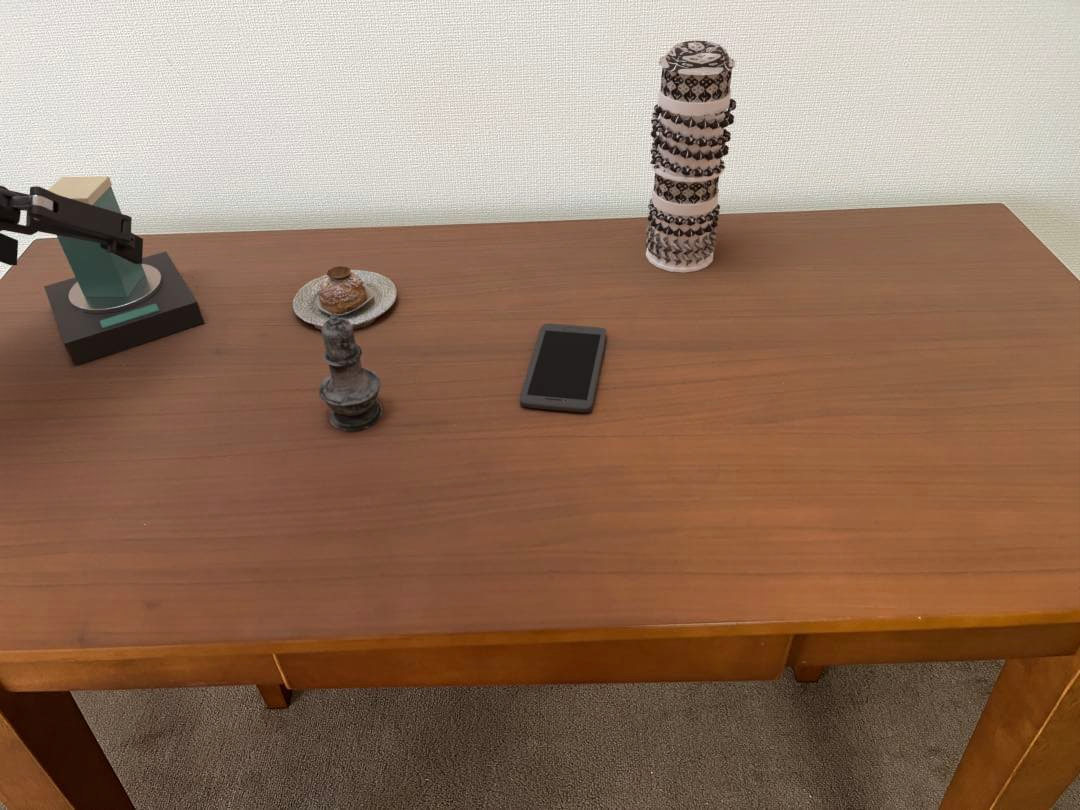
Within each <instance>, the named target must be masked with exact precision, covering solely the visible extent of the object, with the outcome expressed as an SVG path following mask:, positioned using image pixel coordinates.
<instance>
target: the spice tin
mask: <svg viewBox="0 0 1080 810" xmlns="http://www.w3.org/2000/svg"><path fill="white" fill-rule="evenodd" d="M112 183H113V182H112V181H111V179H110V176H108V175H107V176H105V175H104V176H61V177H60V178H59V179H58V180H57V181H56V182H55V183H54V184H53V185H51V186H50V187H48V189H47V190H48V191H51V192H53V193H55V194H57V195H60V196H63V197H67V198H70V199H73V200H77V201H80V202H83V203H87V204H90V205H93V206H97V207H100V208H104V209H107V210H110V211H114V212H117V213H120V214H123V212H122V210H121V208H120V205H119V202H118V200H117V198H116V195H115V193H114V189H113V187H112V185H113V184H112ZM56 238H57V240H58V242H59V244H60V246H61V248H62V250H63V253H64V255H65V257H66V259H67V262H68V264H69V266H70V268H71V271H72V272H73V275H74V278H75V277H76V279H77V281H78V284H79V286H80V288H81V290H82V292H83V295H84V297H128V296H129V295H130V293H131V292H132V291H133V289H134V288H135V287H136V285H137V284H138V283H139V281H140V280H141V279H142V278H143V276H144V275H145V272H144V269H143V267H142V264H134V263H132V262H130V261H128V260H126V259H124V258H122V257H120V256H118V255H115V254H113V253H109V252H107V250H105V249H103V248H101V247H100V243H96V242H90V241H85V240H80V239H75V238H70V237H64V236H59V235H56Z"/></svg>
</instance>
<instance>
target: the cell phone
mask: <svg viewBox="0 0 1080 810" xmlns="http://www.w3.org/2000/svg"><path fill="white" fill-rule="evenodd" d="M606 342H607V329H606V328H604V327H599V326H589V325H575V324H563V323H562V324H561V323H544V324H541V326H540V328H539V332H538V336H537V338H536V341H535V344H534V348H533V351H532V354H531V357H530V361H529V365H528V368H527V371H526V375H525V378H524V381H523V384H522V386H521V387H522V388H521V391H520V395H519V405H520V406H522V407H524V408H529V409H539V410H550V411H552V410H553V411H560V412H572V413H582V414H583V413H590V412H591V411H592V410H593V406H594V402H595V399H596V393H597V389H598V383H599V377H600V373H601V368H602V363H603V358H604V357H603V356H604V352H605V347H606Z"/></svg>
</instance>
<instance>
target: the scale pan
mask: <svg viewBox="0 0 1080 810" xmlns="http://www.w3.org/2000/svg"><path fill="white" fill-rule="evenodd" d="M142 267H143V269H144V272H145V275H144V276H143V278H142V279H141V280H140V281H139V283H138V284H137V285H136V287H135V288H134V289H133V291H132V292H131V293H130V295H129V296H128V297H84V295H83V292H82V290H81V288H80V286H79V284H78V282H77V283H75V284H74V286H73V287H72V288H71V290H70V292H69V300H70V303H71V304H72V306H73V307H74V308H75V309H77V310H79V311H81V312H85V313H92V314H104V313H112V312H117V311H122V310H125V309H128V308H131V307H134V306H136V305H139V304H141V303H143V302H144V301H146V300H148V299H149V298H151V297H152V296H153V295H154V294H156V293H157V291H158V290H159V289H160V287H161V285H162V277H161V274H160V272H159V271H158V270H157V269H156V268H154V267H153V266H150V265H146V264H142Z"/></svg>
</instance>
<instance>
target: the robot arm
mask: <svg viewBox="0 0 1080 810" xmlns="http://www.w3.org/2000/svg"><path fill="white" fill-rule="evenodd" d="M22 211H25V212H26V216H25V217H26V218H25V225H24V224H20V221H21V213H22ZM132 218H133V217H132V216H130V215H128V214H124V213H122V214H120V213H117V212H114V211H110V210H107V209H104V208H100V207H97V206H93V205H90V204H87V203H83V202H80V201H77V200H73V199H70V198H67V197H63V196H60V195H57V194H55V193H53V192H51V191H48V189H46V188H44V187H42V186H38V185H35V186H29V194H27V193H23V192H19V191H16V190H15V191H14V190H10V189H9V188H7V187H6V186H4V185H0V263H3V264H5V265H7V266H18V256H19V255H18V252H19V240H18V239H16V238H13V237H12V236H8V235H6V234H5V233H1V232H2V231H4V232H10V233H16V234H22V235H26V236H33V235H34V234H36V233H38V232H40V233H44V234H50V235H55V236H57V235H59V236H64V237H70V238H75V239H80V240H85V241H90V242H96V243H100V247H101V248H103V249H105V250H107V252H109V253H113V254H115V255H118V256H120V257H122V258H124V259H126V260H128V261H130V262H132V263H134V264H142V258H143V255H144V253H143V251H144V250H143V249H144V238H143V237H140V236H139V235H136V234H135V233H133V232H132V221H133V219H132Z"/></svg>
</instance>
